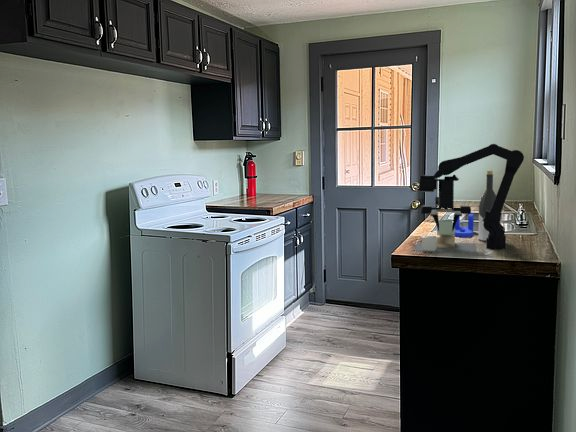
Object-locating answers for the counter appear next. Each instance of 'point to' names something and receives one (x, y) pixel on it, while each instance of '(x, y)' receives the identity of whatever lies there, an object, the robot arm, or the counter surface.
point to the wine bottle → (486, 206)
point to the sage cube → (445, 226)
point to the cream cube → (429, 243)
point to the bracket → (465, 230)
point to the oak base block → (445, 241)
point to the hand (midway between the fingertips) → (445, 231)
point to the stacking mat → (458, 248)
